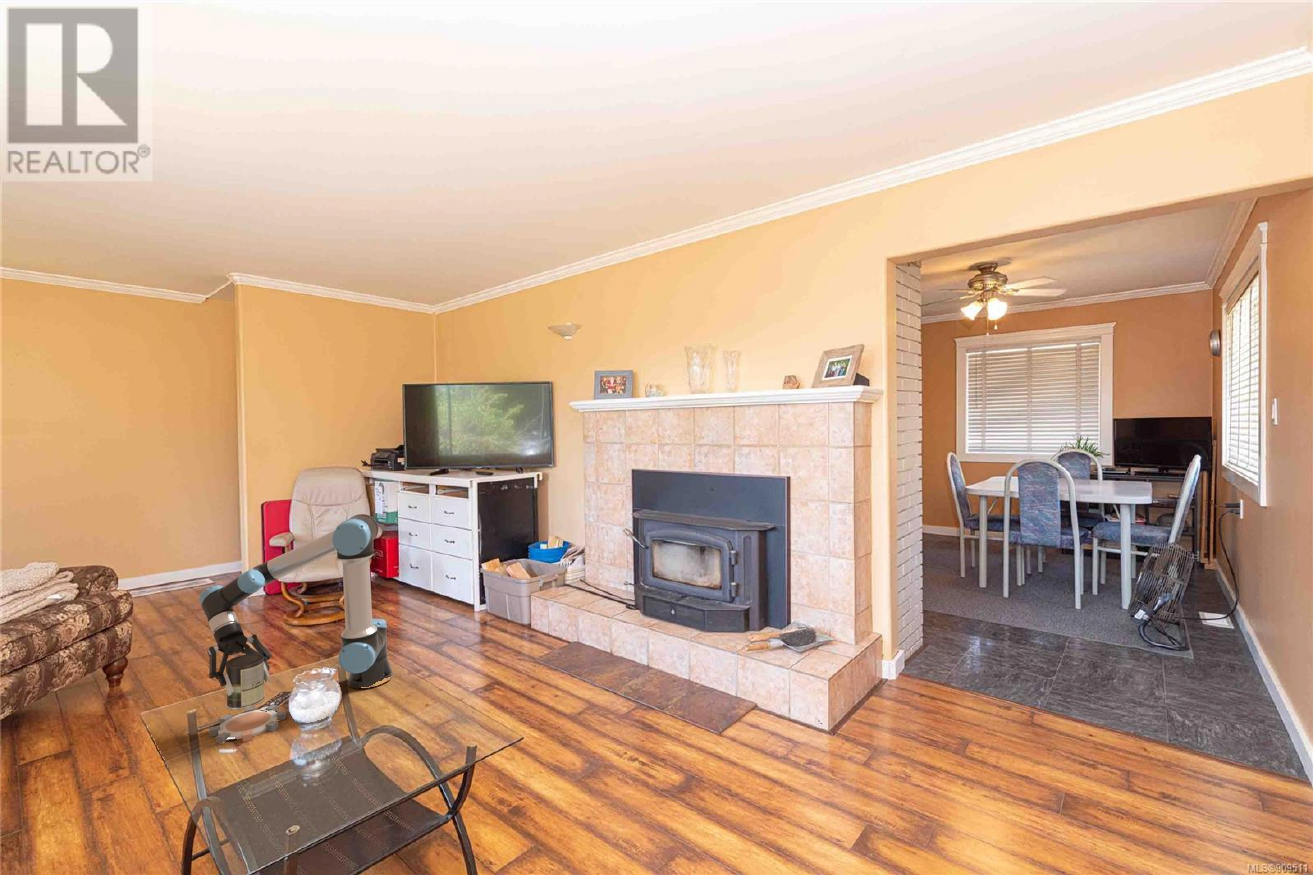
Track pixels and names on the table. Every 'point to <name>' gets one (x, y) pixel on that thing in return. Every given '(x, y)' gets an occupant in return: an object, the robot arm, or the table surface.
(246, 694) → the coffee can
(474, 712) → the table surface
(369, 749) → the table surface
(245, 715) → the sprocket plate
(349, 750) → the table surface
